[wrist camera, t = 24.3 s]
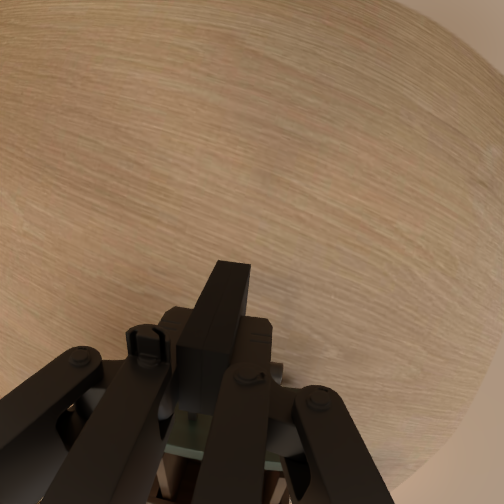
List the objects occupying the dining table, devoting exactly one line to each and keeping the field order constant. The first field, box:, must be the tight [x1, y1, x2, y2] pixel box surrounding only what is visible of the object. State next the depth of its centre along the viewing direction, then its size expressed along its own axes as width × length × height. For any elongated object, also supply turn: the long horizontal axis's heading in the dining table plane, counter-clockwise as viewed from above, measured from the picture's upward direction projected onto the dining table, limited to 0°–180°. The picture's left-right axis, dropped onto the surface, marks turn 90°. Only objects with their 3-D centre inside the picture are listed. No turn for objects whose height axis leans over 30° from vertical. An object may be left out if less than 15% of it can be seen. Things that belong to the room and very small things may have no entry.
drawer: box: [157, 362, 300, 504], centre depth 23 cm, size 20×11×8 cm, turn 174°
